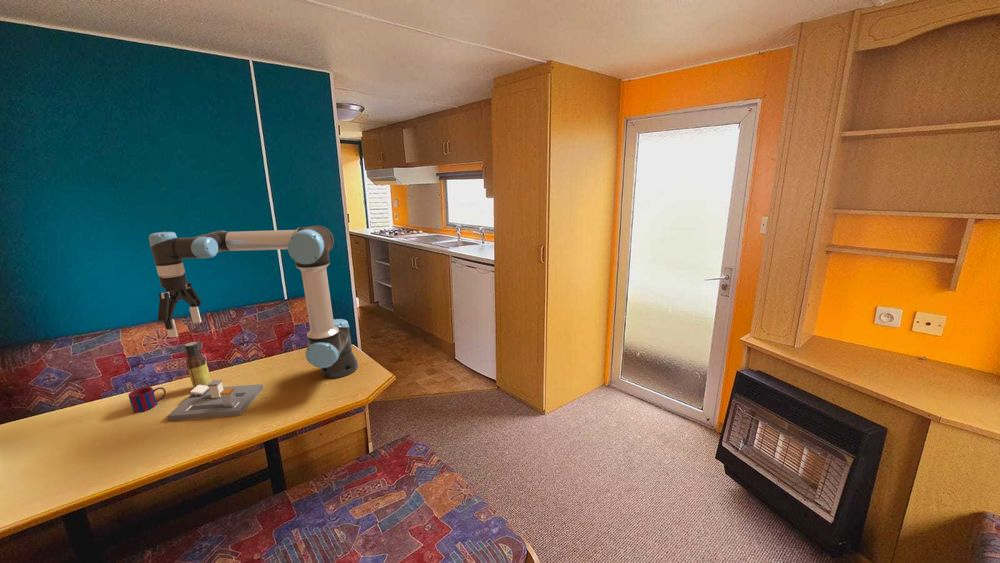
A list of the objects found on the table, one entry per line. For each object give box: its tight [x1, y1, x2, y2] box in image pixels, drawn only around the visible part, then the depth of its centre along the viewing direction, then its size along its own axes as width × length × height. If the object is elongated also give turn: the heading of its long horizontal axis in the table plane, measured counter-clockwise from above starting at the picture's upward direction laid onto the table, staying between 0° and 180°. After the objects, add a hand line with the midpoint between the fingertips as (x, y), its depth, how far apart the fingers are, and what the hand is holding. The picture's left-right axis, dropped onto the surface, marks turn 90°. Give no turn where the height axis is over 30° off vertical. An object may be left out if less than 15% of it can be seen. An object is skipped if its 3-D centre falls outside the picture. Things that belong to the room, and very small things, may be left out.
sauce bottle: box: [184, 341, 213, 389], centre depth 155 cm, size 7×6×20 cm
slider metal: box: [220, 388, 237, 407], centre depth 141 cm, size 3×3×6 cm
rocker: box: [189, 385, 209, 396], centre depth 150 cm, size 4×5×2 cm
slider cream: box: [208, 379, 224, 398], centre depth 147 cm, size 3×3×6 cm
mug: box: [128, 386, 167, 414], centre depth 145 cm, size 7×10×7 cm
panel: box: [166, 384, 264, 422], centre depth 146 cm, size 24×18×2 cm
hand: (186, 329), depth 145 cm, fingers open, 13 cm apart
